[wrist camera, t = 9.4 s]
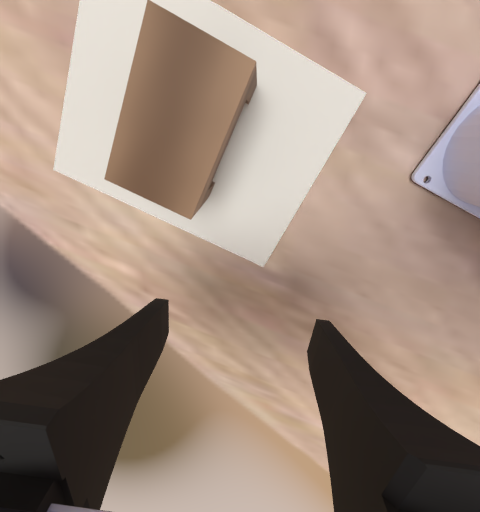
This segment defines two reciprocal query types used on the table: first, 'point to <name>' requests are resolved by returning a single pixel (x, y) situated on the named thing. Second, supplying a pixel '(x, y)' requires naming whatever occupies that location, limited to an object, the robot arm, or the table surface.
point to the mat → (242, 139)
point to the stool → (178, 112)
